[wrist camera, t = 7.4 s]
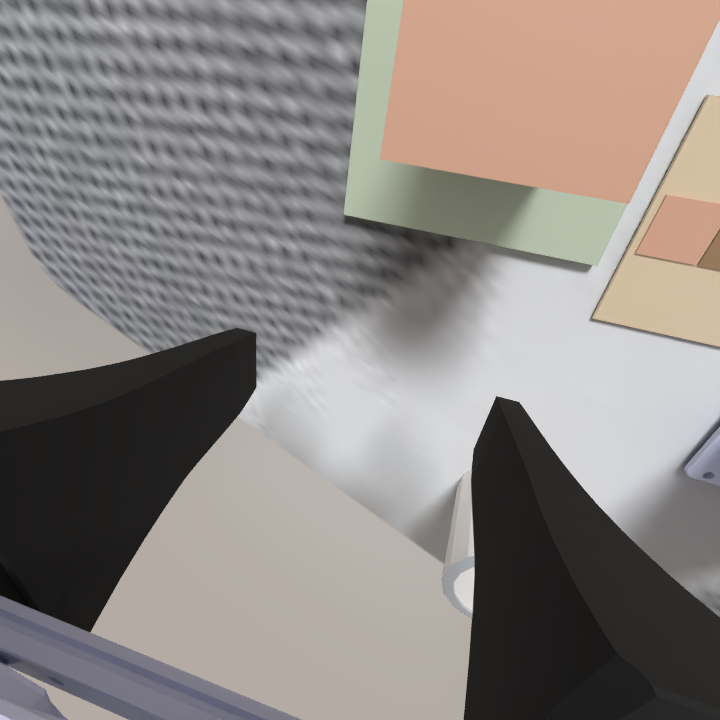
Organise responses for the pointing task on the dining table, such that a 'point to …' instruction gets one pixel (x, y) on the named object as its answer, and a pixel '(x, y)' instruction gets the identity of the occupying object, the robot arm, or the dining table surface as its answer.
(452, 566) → the white cup
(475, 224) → the plate
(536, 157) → the terracotta block
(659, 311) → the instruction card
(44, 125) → the dining table surface
